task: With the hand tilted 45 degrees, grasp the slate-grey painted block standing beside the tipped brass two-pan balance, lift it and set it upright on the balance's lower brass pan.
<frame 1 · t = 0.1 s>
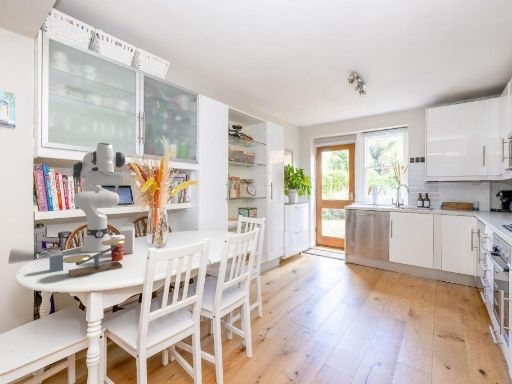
hand: (106, 192, 148), 39 cm above the table, tool pointing down, fingers open, 8 cm apart
milk carton: (127, 252, 161), on the table
balance: (96, 270, 127), on the table
block: (56, 270, 126), on the table
paper cup: (117, 259, 146), on the table
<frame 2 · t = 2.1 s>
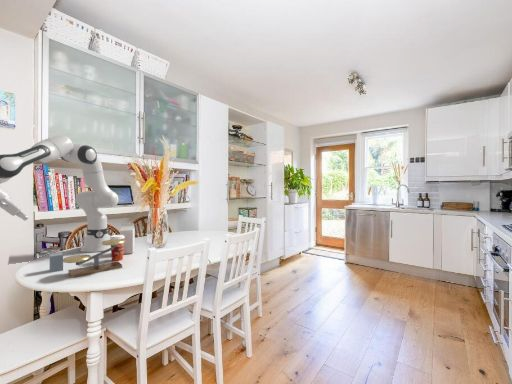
hand: (26, 218, 117), 27 cm above the table, tool tilted 45°, fingers open, 8 cm apart
nothing on the table moved.
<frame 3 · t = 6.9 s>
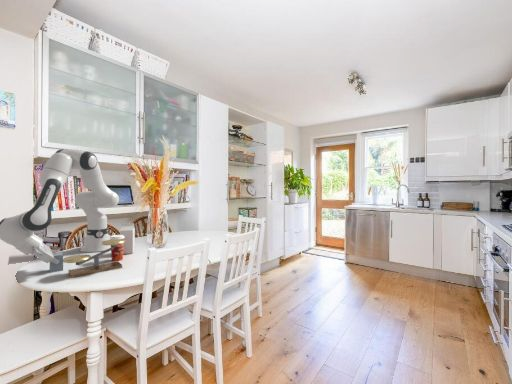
hand: (57, 261, 127), 4 cm above the table, tool tilted 45°, fingers closed on block, 5 cm apart
block: (56, 270, 126), on the table, touching gripper
everything else where it was.
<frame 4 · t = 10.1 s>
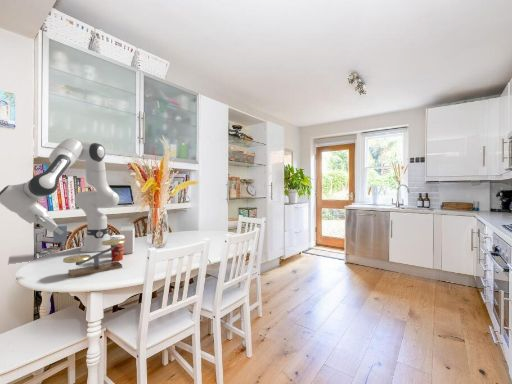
hand: (61, 232, 125), 19 cm above the table, tool tilted 45°, fingers closed on block, 5 cm apart
block: (59, 241, 125), point 15 cm above the table, touching gripper
everything else where it was.
when the fingers open (13 cm above the table, at t = 13.0 s): block stays where it is, resting on balance.
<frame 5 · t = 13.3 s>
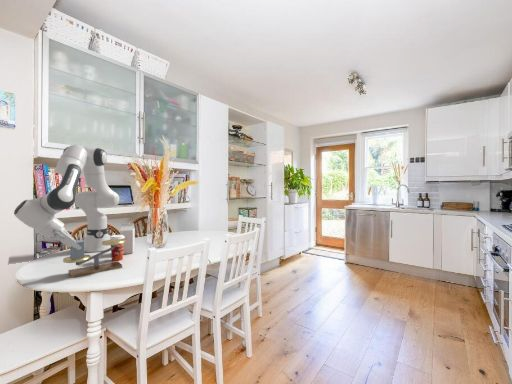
hand: (78, 246, 122), 13 cm above the table, tool tilted 45°, fingers open, 8 cm apart
block: (77, 257, 122), point 8 cm above the table, touching balance
everything else where it was.
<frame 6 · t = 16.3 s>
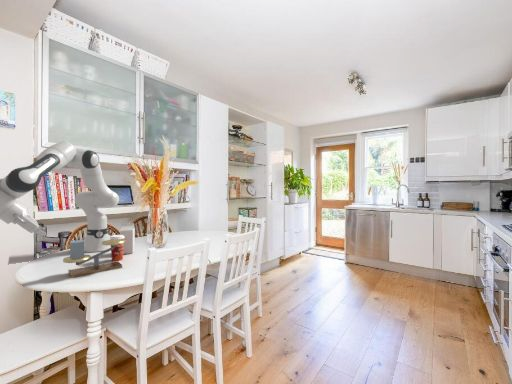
hand: (44, 233, 113), 21 cm above the table, tool tilted 45°, fingers open, 8 cm apart
nothing on the table moved.
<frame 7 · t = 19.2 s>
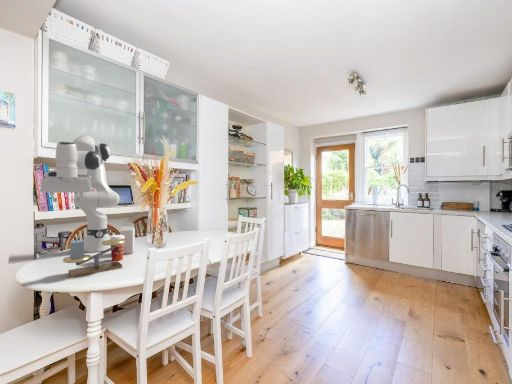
hand: (67, 201, 125), 35 cm above the table, tool pointing down, fingers open, 8 cm apart
nothing on the table moved.
at the end: block inside the target area (0.1 cm from its centre), point 8.0 cm above the table; block tilted 0°; the gripper is holding nothing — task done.
